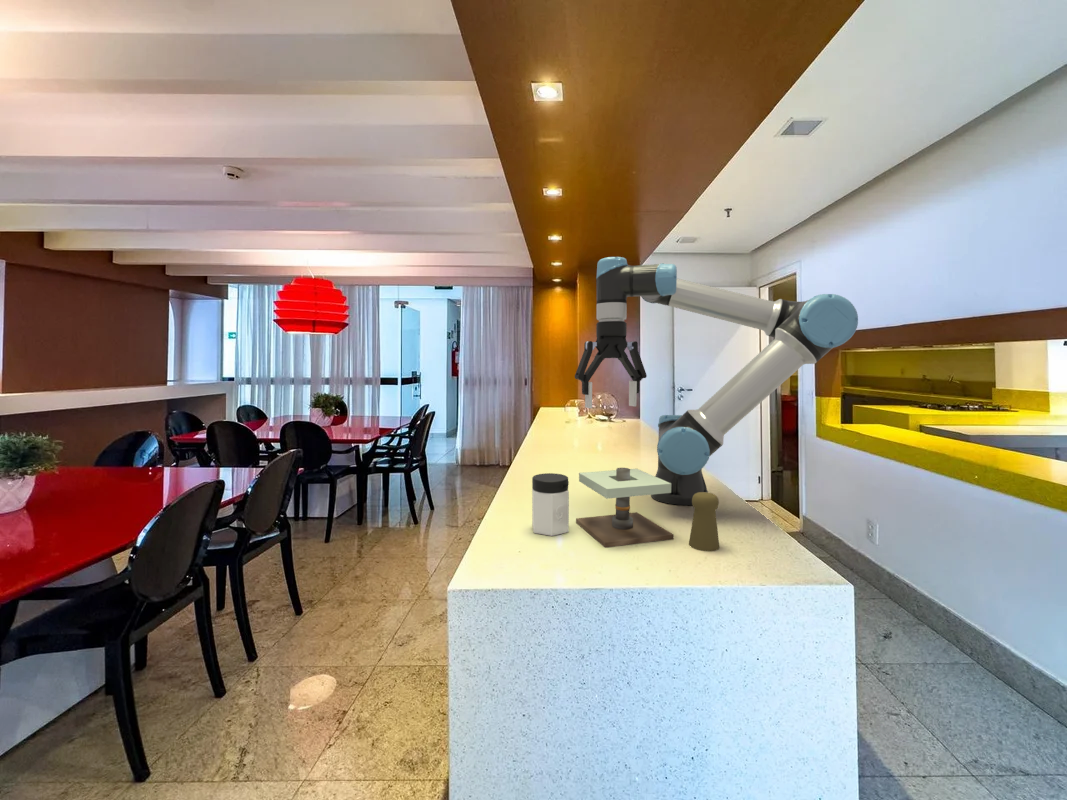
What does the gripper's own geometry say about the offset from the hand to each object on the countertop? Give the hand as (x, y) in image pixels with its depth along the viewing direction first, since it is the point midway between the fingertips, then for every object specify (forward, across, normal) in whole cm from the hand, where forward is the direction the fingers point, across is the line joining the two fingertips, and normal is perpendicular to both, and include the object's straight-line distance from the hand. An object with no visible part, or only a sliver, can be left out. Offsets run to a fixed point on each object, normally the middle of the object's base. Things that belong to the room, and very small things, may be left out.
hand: (610, 407), depth 126 cm
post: (+26, +5, +17) cm, 31 cm away
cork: (+27, -7, +30) cm, 40 cm away
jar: (+26, +20, +11) cm, 35 cm away
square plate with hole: (+16, +5, +17) cm, 24 cm away
